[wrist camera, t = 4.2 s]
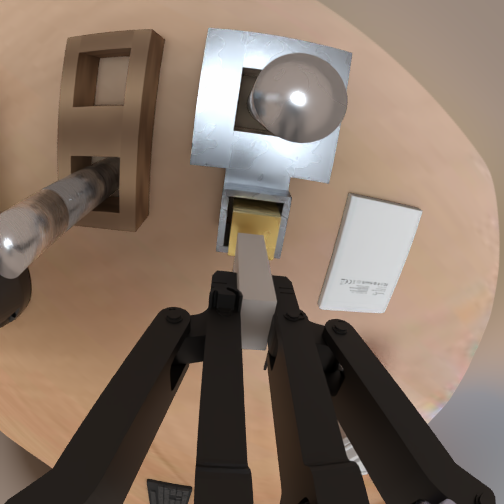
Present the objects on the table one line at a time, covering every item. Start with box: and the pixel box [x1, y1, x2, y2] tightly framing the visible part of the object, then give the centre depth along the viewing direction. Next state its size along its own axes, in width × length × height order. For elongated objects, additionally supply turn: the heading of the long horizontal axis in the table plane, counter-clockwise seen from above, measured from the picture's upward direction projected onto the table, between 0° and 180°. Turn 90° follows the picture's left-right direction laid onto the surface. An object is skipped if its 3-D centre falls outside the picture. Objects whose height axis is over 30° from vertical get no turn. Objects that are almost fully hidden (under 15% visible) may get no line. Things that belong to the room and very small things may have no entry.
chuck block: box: [190, 28, 352, 259], centre depth 23 cm, size 10×16×5 cm, turn 172°
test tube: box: [0, 157, 120, 279], centre depth 18 cm, size 3×3×16 cm
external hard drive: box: [318, 193, 422, 313], centre depth 30 cm, size 2×8×12 cm
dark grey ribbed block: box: [147, 479, 192, 504], centre depth 64 cm, size 35×11×2 cm, turn 166°
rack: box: [57, 29, 165, 232], centre depth 22 cm, size 16×7×4 cm, turn 172°
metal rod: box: [247, 53, 347, 143], centre depth 16 cm, size 3×3×16 cm
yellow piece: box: [228, 197, 281, 260], centre depth 24 cm, size 3×3×6 cm
